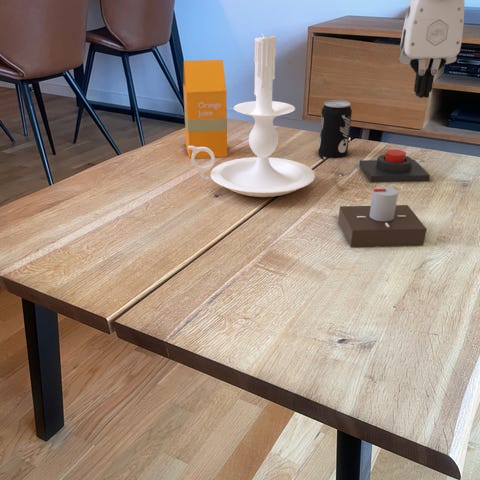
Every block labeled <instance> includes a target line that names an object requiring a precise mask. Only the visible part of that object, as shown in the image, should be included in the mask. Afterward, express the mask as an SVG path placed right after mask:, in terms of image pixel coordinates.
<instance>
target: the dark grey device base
mask: <svg viewBox="0 0 480 480" xmlns="http://www.w3.org/2000/svg"><path fill="white" fill-rule="evenodd" d="M385 156H386V153H385V154H380V155H379V156H378V157H377V159H369V160H368V159H367V160H365V159H364V160H363V159H362V160H361V159H360V160H359V164H358V167H359V169H360V171H362V173H363V174H364V175H365V177H366V178H367V180H368V181H369V182H370V183H412V182H416V183H417V182H429V181H430V178H431V177H430V176H431V174H429V172H427V170H425V169H424V168H423V167H422V165H420V164H419V163H418V162H417V160H415V159H413V158H412V157H410V156H407V155H406V157H405V162H402V163H395V162H388V161H386V160H385Z"/></svg>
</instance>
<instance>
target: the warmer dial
mask: <svg viewBox="0 0 480 480" xmlns="http://www.w3.org/2000/svg"><path fill="white" fill-rule="evenodd" d="M398 196H399V191H398V190H397V189H396V188H394V187H391V186H377V187H374V188H373V189H372V194H371V201H370V206H371V208H370V215H369V216H370V218H372V219H373V220H376V221H383V222H386V221H391V220H393V219H394V214H395V208H396V205H397V202H398Z"/></svg>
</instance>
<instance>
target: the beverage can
mask: <svg viewBox="0 0 480 480" xmlns="http://www.w3.org/2000/svg"><path fill="white" fill-rule="evenodd" d="M323 104H324V105H323V107H322V109H321V115H320V117H321V118H320V128H319V138H318V139H319V140H318V156H319V157H320V159H322V160H324V161H325V158H329V159H341V158H345V157H347V156H348V150H349V141H350V132H351V125H352V123H351V122H352V116H353V115H352V113H353V110H352V108H351V102H350V101H347V100H341V99H340V100H339V99H336V100H335V99H333V100H332V99H331V100H327V101H324V103H323Z"/></svg>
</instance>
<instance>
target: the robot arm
mask: <svg viewBox="0 0 480 480" xmlns="http://www.w3.org/2000/svg"><path fill="white" fill-rule="evenodd" d="M464 23H465V0H410V1H409V3H408V7H407V11H406V14H405V18H404V22H403V28H402V31H401V39H400V47H399V49H400V54H399V57H398V59H397V61H398V63H399V64H401V65H405V66H409V67H411V69H412V70H413V72H414V73H415V78H414V86H413V92H414V93H415V96H416V97H418V98H419V99H423V98H424V99H425V98H427V99H428V98H429V97H430V93H432V91H433V86H434V81H435V80H434V79H435V76H436V75H437V74H438V72H439V71H440V70H441V69H442V68H443V67H444V66H445V65H449V64H453V63H455V62H457V59H458V58H457V56H458V55H459V54H460V52H461V47H462V41H463V32H464ZM426 59H428V61H427V65H426Z"/></svg>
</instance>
